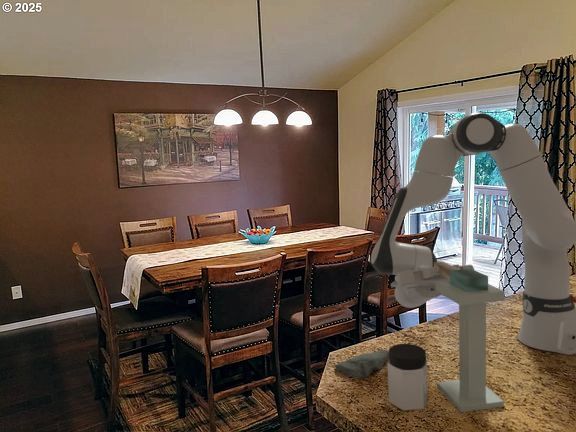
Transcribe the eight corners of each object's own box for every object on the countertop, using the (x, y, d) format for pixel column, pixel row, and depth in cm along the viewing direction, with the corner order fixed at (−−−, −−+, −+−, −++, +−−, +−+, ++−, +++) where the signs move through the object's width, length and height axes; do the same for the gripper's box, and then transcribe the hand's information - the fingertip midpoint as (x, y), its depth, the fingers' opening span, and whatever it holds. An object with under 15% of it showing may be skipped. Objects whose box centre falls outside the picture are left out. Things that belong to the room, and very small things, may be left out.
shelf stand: (475, 381, 109) (475, 277, 106) (503, 406, 98) (504, 291, 95) (437, 387, 108) (435, 282, 104) (461, 412, 97) (460, 296, 93)
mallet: (447, 270, 114) (447, 258, 113) (488, 289, 96) (488, 276, 96) (429, 272, 113) (429, 260, 112) (466, 292, 96) (466, 278, 95)
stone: (378, 343, 130) (405, 353, 121) (378, 354, 130) (405, 365, 122) (332, 359, 120) (359, 371, 112) (333, 370, 120) (359, 383, 112)
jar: (422, 415, 97) (421, 362, 95) (385, 407, 101) (383, 356, 99) (430, 394, 104) (429, 345, 103) (395, 388, 108) (394, 340, 107)
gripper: (386, 275, 121) (403, 260, 109) (457, 268, 124) (481, 252, 111) (391, 298, 119) (409, 285, 106) (463, 290, 122) (489, 277, 109)
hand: (446, 268), depth 109 cm, fingers open, 4 cm apart
